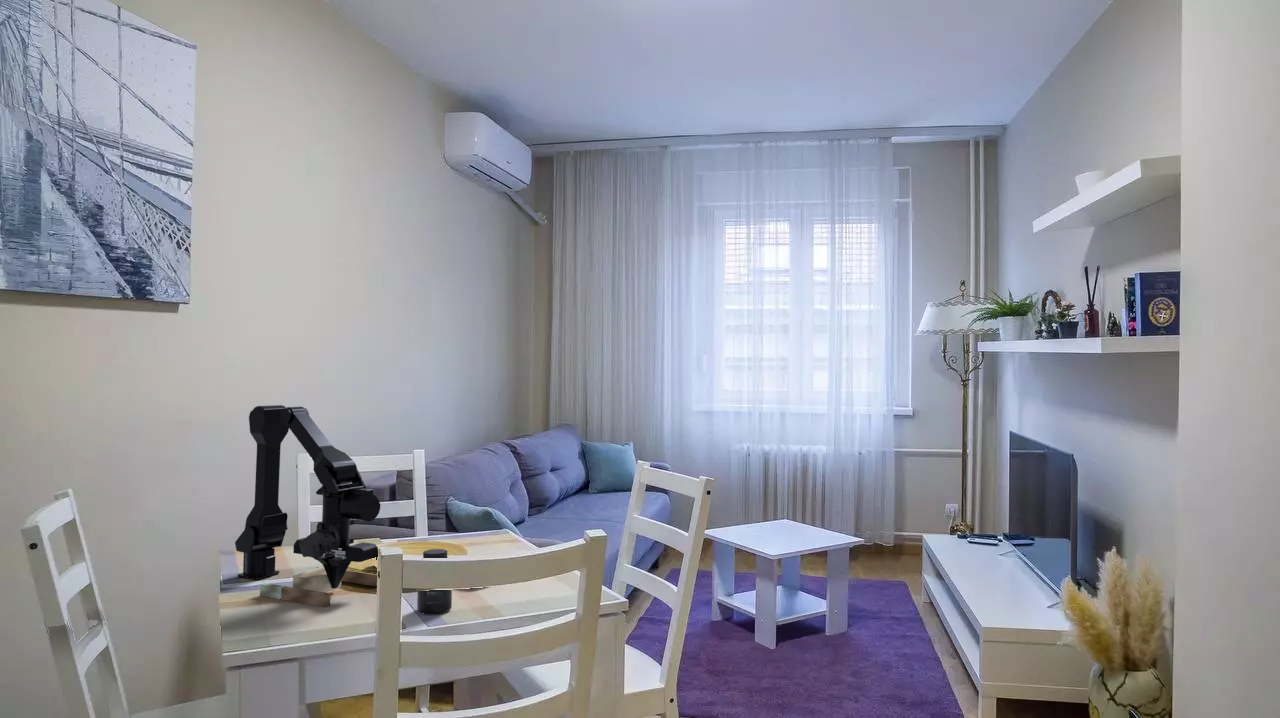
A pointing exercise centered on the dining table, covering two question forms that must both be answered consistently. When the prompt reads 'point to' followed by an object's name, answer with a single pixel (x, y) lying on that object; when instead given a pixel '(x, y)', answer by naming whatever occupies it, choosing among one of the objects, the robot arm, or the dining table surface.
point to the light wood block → (313, 580)
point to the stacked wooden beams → (310, 595)
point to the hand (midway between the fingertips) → (334, 588)
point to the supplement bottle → (434, 591)
